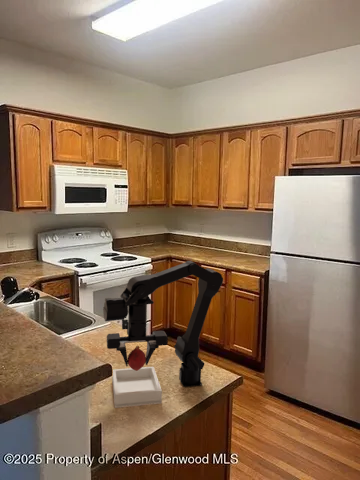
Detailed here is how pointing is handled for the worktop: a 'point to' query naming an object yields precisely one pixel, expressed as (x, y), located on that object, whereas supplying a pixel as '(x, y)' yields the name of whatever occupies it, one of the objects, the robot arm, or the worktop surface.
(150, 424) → the worktop surface
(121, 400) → the bin
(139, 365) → the onion
